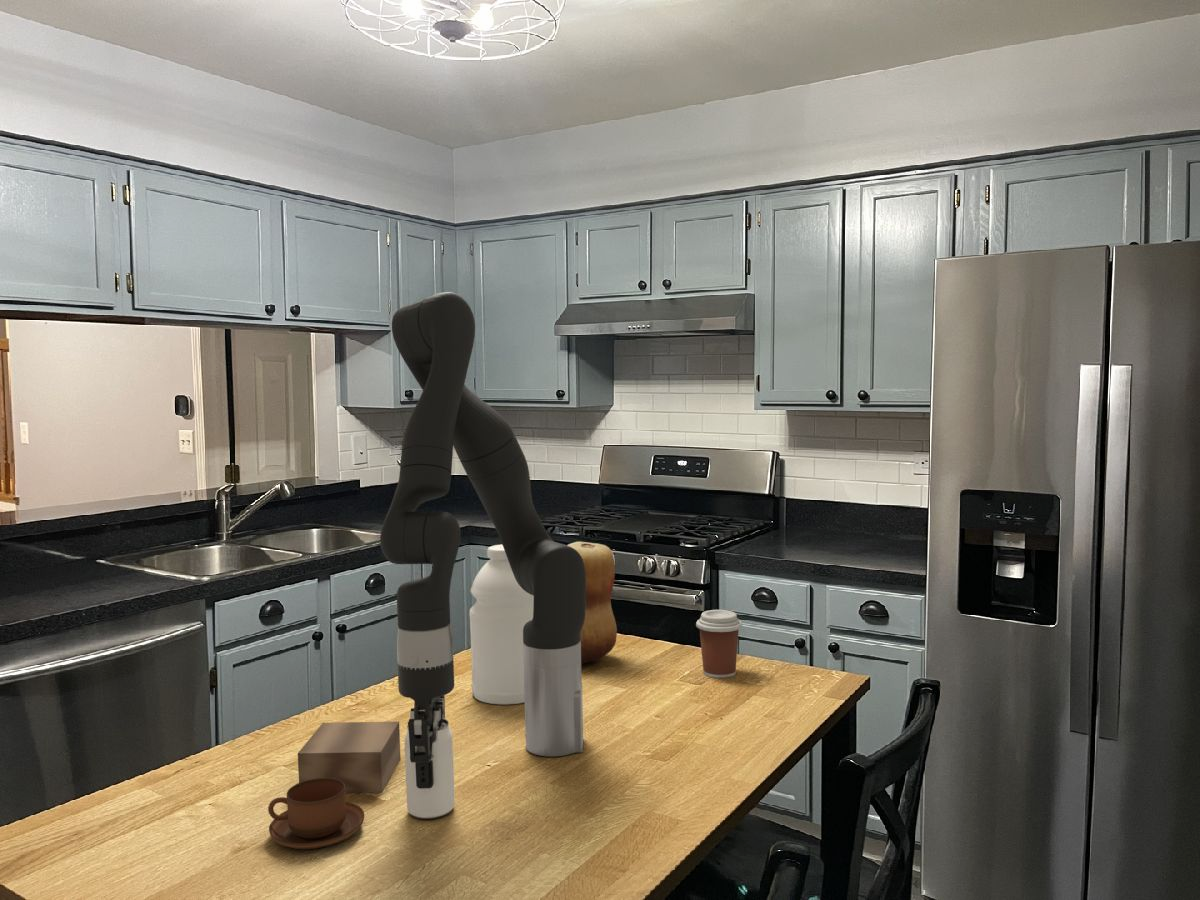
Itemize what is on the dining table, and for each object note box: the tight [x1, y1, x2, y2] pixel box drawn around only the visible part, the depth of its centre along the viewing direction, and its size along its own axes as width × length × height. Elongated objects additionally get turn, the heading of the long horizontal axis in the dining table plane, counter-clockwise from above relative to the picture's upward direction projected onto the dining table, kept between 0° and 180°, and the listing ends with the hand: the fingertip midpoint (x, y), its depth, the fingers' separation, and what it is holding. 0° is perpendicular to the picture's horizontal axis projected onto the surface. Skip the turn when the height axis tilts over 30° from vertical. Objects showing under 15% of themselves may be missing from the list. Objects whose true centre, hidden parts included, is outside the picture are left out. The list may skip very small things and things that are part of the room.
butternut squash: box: [567, 541, 618, 665], centre depth 194 cm, size 14×13×25 cm
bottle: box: [468, 543, 534, 706], centre depth 175 cm, size 14×14×28 cm
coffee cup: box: [695, 609, 743, 679], centre depth 186 cm, size 9×9×12 cm
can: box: [404, 718, 456, 820], centre depth 128 cm, size 6×6×12 cm
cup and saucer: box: [267, 778, 365, 850], centre depth 123 cm, size 12×12×6 cm
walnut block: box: [297, 721, 402, 794], centre depth 141 cm, size 12×12×6 cm
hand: (429, 775), depth 128 cm, fingers closed on can, 6 cm apart
